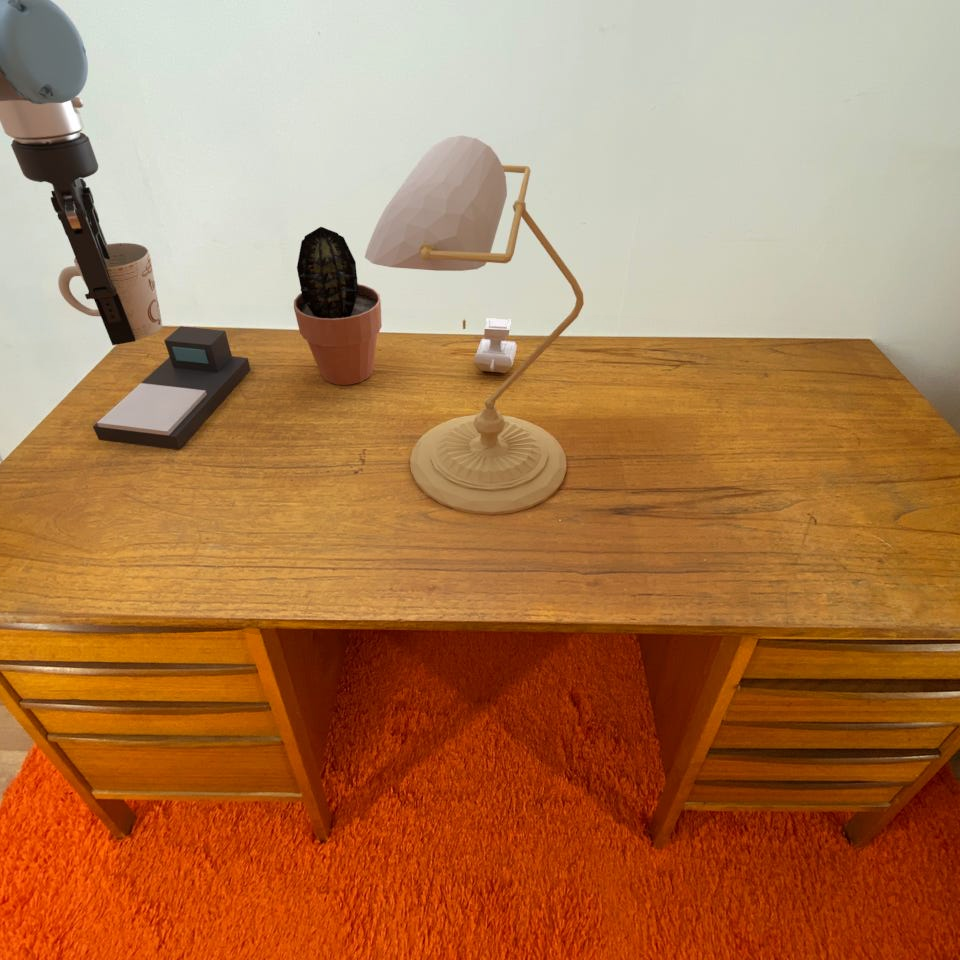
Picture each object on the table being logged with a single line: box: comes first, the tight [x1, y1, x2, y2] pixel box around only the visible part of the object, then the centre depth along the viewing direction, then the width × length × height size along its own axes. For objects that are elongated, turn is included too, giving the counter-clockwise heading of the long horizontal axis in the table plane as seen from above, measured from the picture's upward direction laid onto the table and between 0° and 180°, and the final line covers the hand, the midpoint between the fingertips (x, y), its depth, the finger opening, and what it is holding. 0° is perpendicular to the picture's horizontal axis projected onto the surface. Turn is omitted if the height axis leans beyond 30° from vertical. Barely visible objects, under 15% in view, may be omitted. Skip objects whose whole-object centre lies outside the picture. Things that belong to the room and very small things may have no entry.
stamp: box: [473, 317, 518, 374], centre depth 109 cm, size 9×7×8 cm
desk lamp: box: [364, 135, 585, 516], centre depth 79 cm, size 31×23×40 cm
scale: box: [92, 325, 252, 451], centre depth 100 cm, size 23×13×7 cm, turn 170°
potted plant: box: [293, 226, 383, 386], centre depth 102 cm, size 14×14×25 cm
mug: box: [57, 242, 163, 341], centre depth 81 cm, size 8×13×10 cm, turn 90°
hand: (122, 329), depth 84 cm, fingers closed on mug, 6 cm apart
